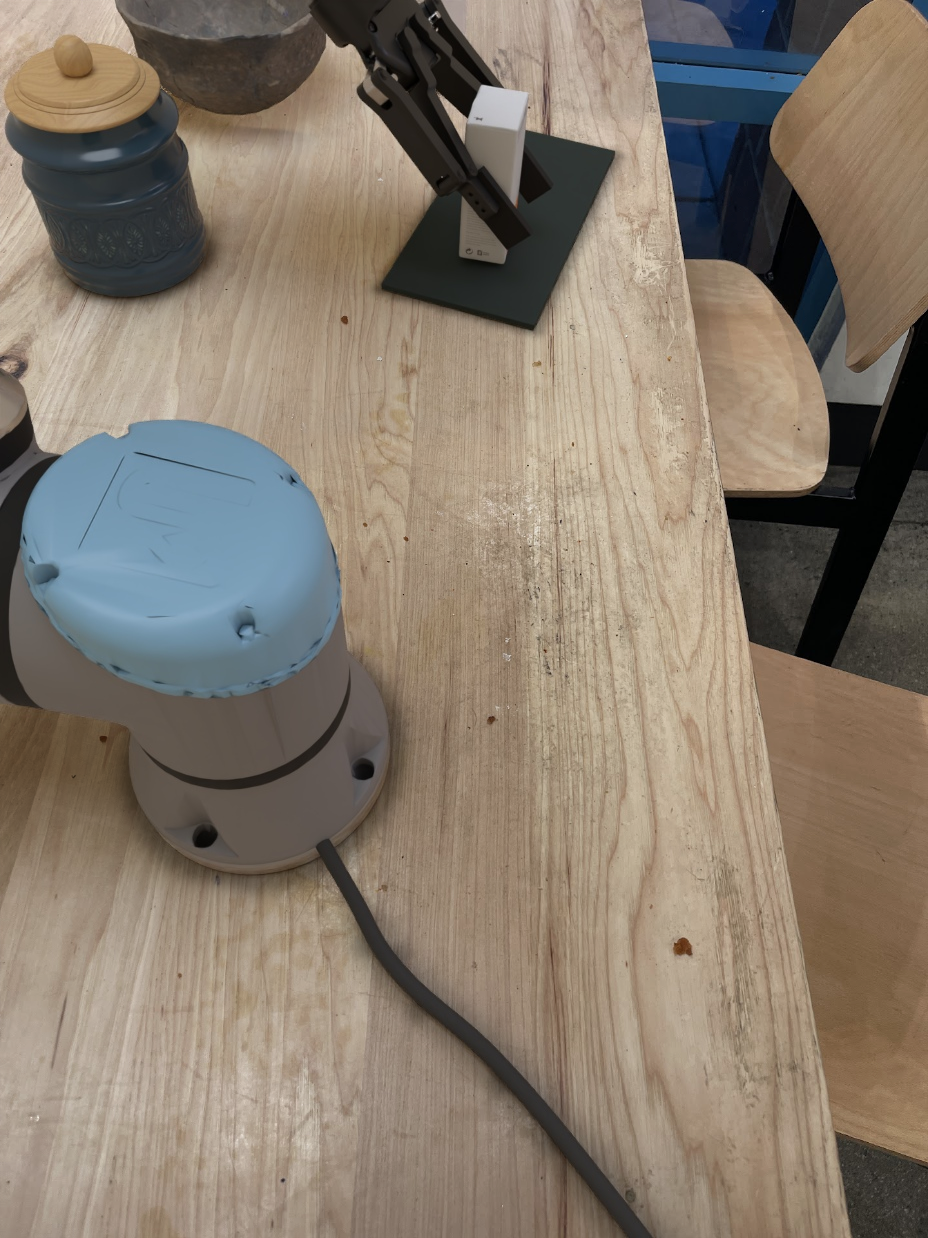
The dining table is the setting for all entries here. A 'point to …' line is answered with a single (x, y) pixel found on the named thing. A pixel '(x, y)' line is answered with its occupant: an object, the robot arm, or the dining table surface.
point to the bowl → (226, 49)
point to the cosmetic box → (493, 162)
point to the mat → (529, 265)
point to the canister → (106, 167)
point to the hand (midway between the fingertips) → (530, 215)
